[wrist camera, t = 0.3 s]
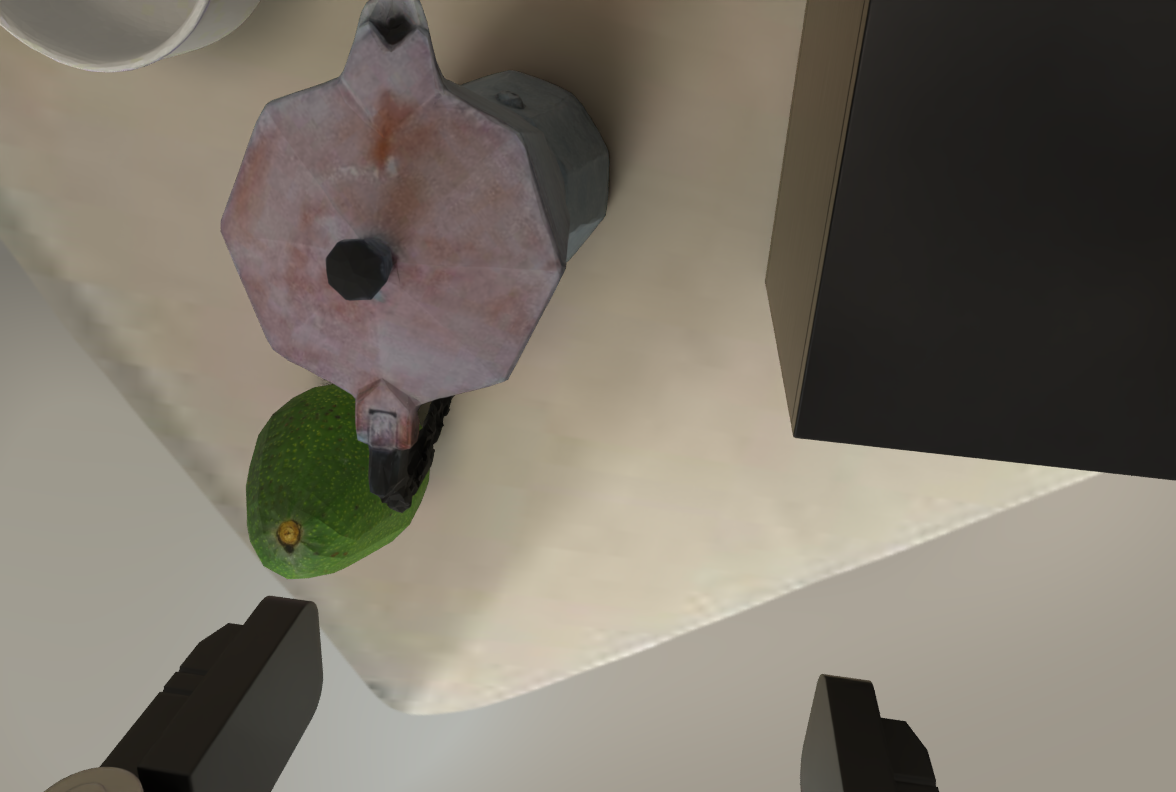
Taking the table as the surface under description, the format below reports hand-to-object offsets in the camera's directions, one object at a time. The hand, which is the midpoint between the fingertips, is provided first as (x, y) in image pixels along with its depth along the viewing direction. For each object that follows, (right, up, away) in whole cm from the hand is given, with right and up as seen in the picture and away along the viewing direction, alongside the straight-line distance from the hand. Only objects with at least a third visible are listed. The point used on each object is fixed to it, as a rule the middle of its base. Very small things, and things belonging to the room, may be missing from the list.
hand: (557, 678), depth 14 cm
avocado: (-10, +3, +32) cm, 34 cm away
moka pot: (-3, +14, +26) cm, 30 cm away
